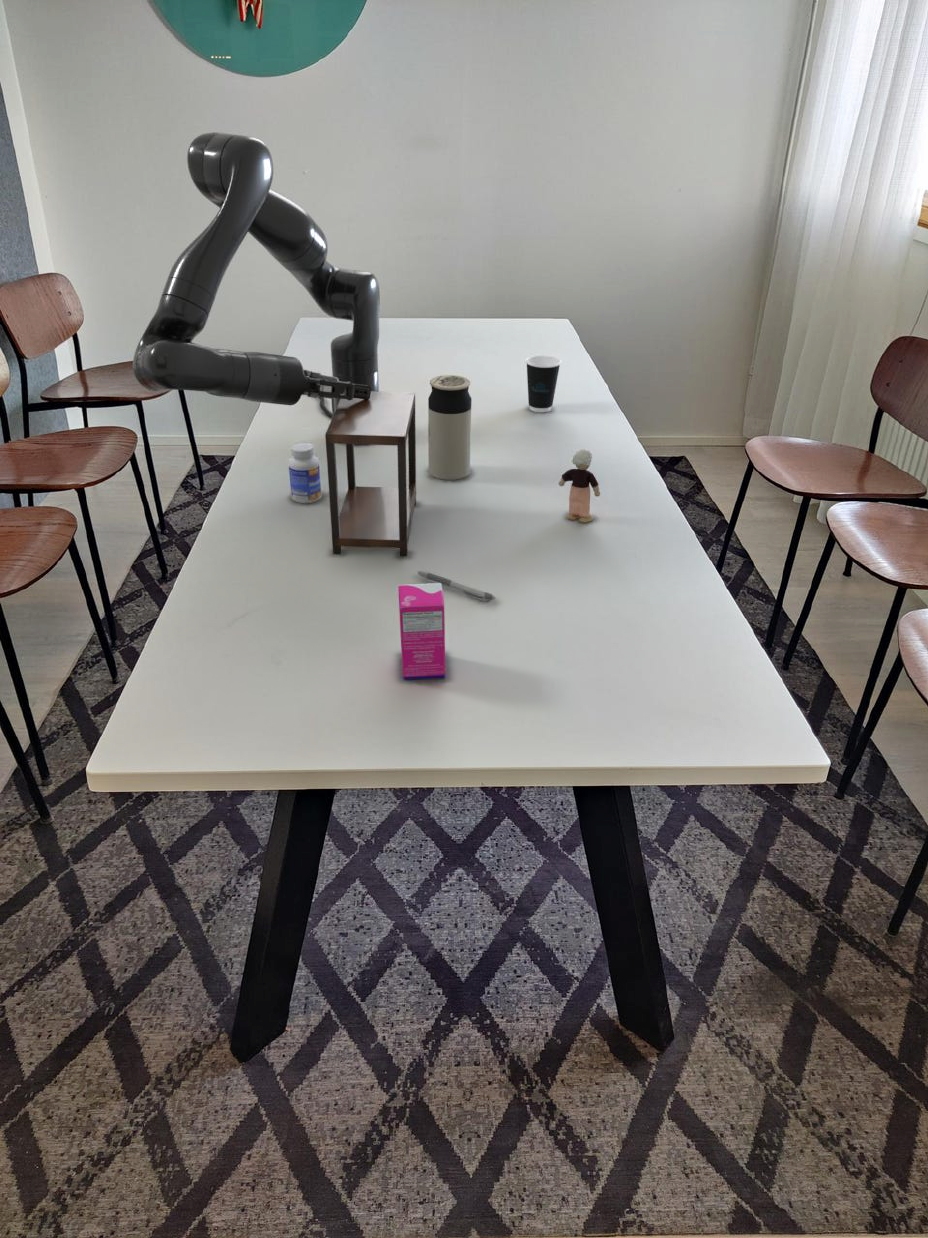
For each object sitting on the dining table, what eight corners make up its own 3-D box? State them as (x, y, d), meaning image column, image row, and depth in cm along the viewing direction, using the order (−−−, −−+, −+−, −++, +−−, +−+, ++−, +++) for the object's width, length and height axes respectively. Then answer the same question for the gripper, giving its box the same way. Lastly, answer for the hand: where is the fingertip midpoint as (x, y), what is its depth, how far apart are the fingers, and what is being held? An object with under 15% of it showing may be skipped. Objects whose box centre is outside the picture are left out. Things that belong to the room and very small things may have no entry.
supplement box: (399, 655, 124) (398, 582, 118) (443, 654, 124) (444, 581, 118) (401, 681, 119) (399, 606, 113) (446, 679, 119) (447, 605, 113)
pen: (492, 605, 135) (493, 596, 135) (415, 578, 142) (415, 570, 141) (496, 602, 136) (496, 593, 135) (419, 575, 142) (419, 567, 142)
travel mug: (476, 469, 177) (478, 378, 168) (459, 484, 171) (460, 390, 162) (439, 461, 180) (440, 371, 170) (421, 476, 174) (420, 383, 164)
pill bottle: (315, 505, 162) (312, 454, 157) (287, 502, 163) (282, 451, 158) (325, 492, 167) (322, 442, 162) (297, 489, 168) (293, 439, 163)
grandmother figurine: (600, 516, 161) (608, 448, 154) (596, 525, 158) (603, 457, 151) (558, 509, 163) (563, 442, 156) (553, 518, 160) (558, 450, 153)
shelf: (333, 554, 147) (325, 434, 136) (349, 501, 164) (344, 390, 153) (407, 556, 147) (405, 436, 136) (416, 503, 164) (415, 392, 153)
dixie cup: (532, 416, 203) (535, 367, 197) (516, 405, 209) (519, 357, 203) (563, 412, 205) (567, 363, 199) (547, 401, 211) (551, 353, 205)
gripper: (291, 358, 136) (382, 371, 146) (250, 348, 147) (338, 361, 157) (285, 409, 138) (375, 418, 148) (246, 396, 149) (332, 405, 159)
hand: (356, 389), depth 153 cm, fingers open, 8 cm apart
